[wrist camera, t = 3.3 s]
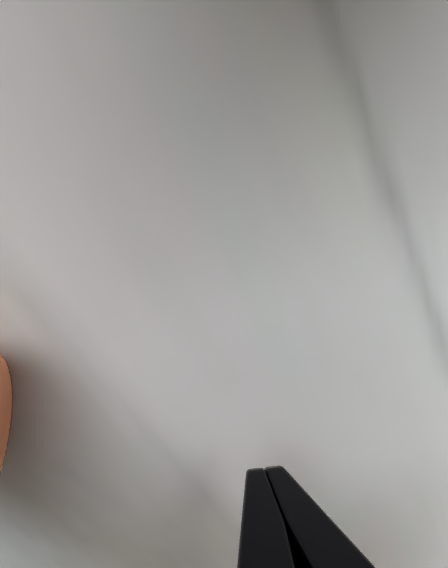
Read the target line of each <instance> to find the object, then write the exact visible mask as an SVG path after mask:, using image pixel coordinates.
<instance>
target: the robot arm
mask: <svg viewBox="0 0 448 568" xmlns="http://www.w3.org/2000/svg"><path fill="white" fill-rule="evenodd" d="M237 568H375V567H374V566H373V565H372V564H371V562H370V561H369V560H368V559H367V558H366V557H365V556H364V555H363V554H362V553H361V552H360V550H359V549H358V548H357V547H356V546H355V545H354V544H353V543H352V542H351V541H350V540H349V538H348V537H347V536H346V535H345V534H344V533H343V532H342V531H341V530H340V529H339V528H338V526H337V525H336V524H335V523H334V522H333V521H332V520H331V519H330V518H329V517H328V516H327V514H326V513H325V512H324V511H323V510H322V509H321V508H320V507H319V506H318V505H317V504H316V503H315V501H314V500H313V499H312V498H311V497H310V496H309V495H308V494H307V493H306V492H305V491H304V489H303V488H302V487H301V486H300V485H299V484H298V483H297V482H296V481H295V480H294V479H293V477H292V476H291V475H290V474H289V473H288V472H287V471H286V470H285V469H284V468H283V467H282V466H272V467H266V468H265V469H263V468H254V469H248V470H247V472H246V480H245V491H244V502H243V512H242V523H241V533H240V544H239V554H238V565H237Z"/></svg>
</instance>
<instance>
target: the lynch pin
mask: <svg viewBox="0 0 448 568" xmlns="http://www.w3.org/2000/svg"><path fill="white" fill-rule="evenodd" d="M11 414H12V384H11V377H10V373H9V369H8V366H7V364H6V362H5V360H4V358H3V357H2V356H1V355H0V473H1V469H2V465H3V461H4V457H5V453H6V448H7V443H8V437H9V431H10V424H11Z"/></svg>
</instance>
